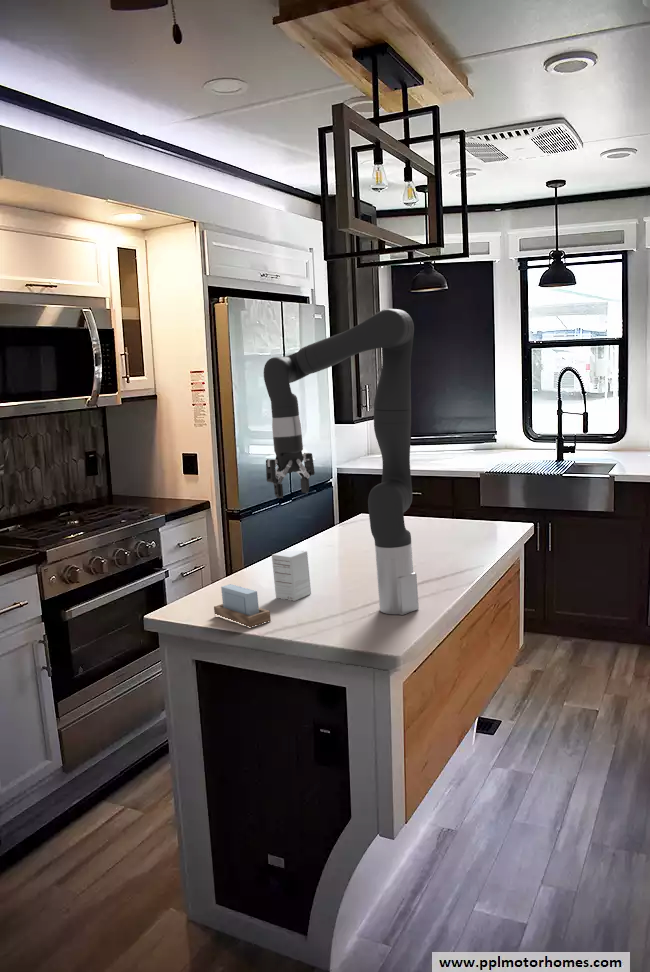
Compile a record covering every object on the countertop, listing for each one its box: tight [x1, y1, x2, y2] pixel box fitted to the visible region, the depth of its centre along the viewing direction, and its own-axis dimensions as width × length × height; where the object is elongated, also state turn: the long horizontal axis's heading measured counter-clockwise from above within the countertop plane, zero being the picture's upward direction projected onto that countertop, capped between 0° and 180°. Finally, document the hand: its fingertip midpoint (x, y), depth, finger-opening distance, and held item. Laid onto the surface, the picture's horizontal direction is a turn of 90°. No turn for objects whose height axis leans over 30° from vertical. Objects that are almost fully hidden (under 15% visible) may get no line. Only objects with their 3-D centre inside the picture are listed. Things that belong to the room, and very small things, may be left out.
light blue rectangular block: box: [220, 583, 260, 616], centre depth 208 cm, size 12×3×7 cm, turn 41°
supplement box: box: [271, 548, 312, 602], centre depth 224 cm, size 7×7×13 cm
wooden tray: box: [213, 603, 272, 627], centre depth 208 cm, size 16×6×3 cm, turn 41°
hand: (292, 495), depth 211 cm, fingers open, 8 cm apart
